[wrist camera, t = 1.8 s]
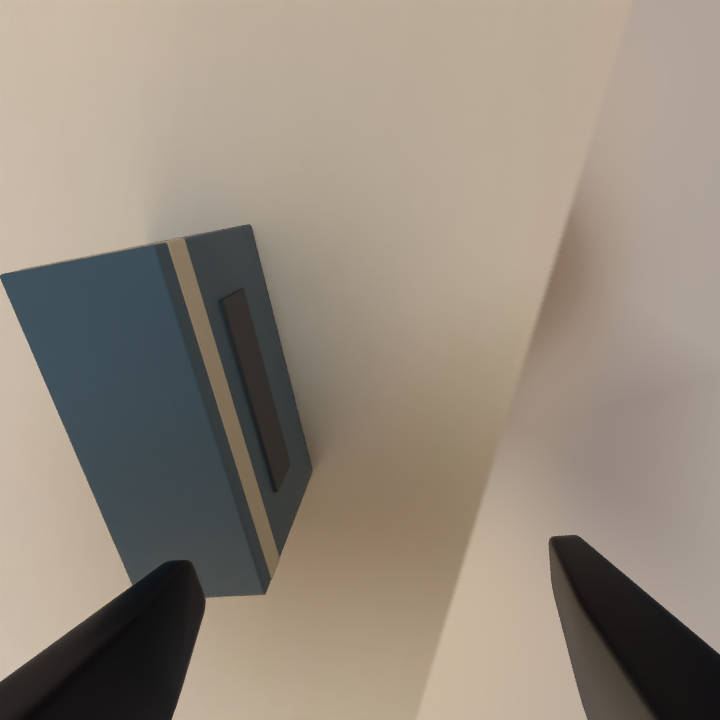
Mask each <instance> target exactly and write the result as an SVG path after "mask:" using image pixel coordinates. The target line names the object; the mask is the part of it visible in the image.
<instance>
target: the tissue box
mask: <svg viewBox="0 0 720 720" xmlns="http://www.w3.org/2000/svg"><path fill="white" fill-rule="evenodd" d="M0 279H1V281H2V283H3V286H4V288H5V290H6V292H7V295H8V297H9V299H10V302H11V304H12V306H13V309H14V311H15V313H16V316H17V318H18V320H19V323H20V325H21V327H22V330H23V332H24V334H25V337H26V339H27V341H28V344H29V346H30V348H31V351H32V353H33V355H34V358H35V360H36V362H37V365H38V367H39V369H40V372H41V374H42V376H43V379H44V381H45V383H46V385H47V388H48V390H49V392H50V395H51V397H52V399H53V402H54V404H55V406H56V409H57V411H58V413H59V416H60V418H61V420H62V423H63V425H64V427H65V430H66V432H67V434H68V437H69V439H70V441H71V444H72V446H73V448H74V451H75V453H76V455H77V458H78V460H79V462H80V465H81V467H82V469H83V472H84V474H85V476H86V479H87V481H88V483H89V485H90V488H91V490H92V492H93V495H94V497H95V499H96V502H97V504H98V506H99V509H100V511H101V513H102V516H103V518H104V520H105V523H106V525H107V527H108V530H109V532H110V534H111V537H112V539H113V541H114V544H115V546H116V548H117V551H118V553H119V555H120V558H121V560H122V562H123V565H124V567H125V569H126V572H127V574H128V576H129V578H130V581H131V583H132V585H134V584H135V583H137V582H138V581H140V580H141V579H142V578H144V577H145V576H146V575H148V574H149V573H150V572H152V571H153V570H155V569H156V568H157V567H159V566H160V565H161V564H163V563H164V562H167V561H171V560H189V561H191V562H192V563H193V565H194V567H195V570H196V573H197V575H198V578H199V581H200V584H201V586H202V589H203V592H204V595H205V598H211V597H232V596H252V595H265V594H266V592H267V589H268V586H269V584H270V581H271V580H272V578H273V576H274V573H275V570H276V568H277V565H278V563H279V560H280V555H281V553H282V550H283V547H284V545H285V542H286V540H287V537H288V534H289V532H290V529H291V527H292V524H293V521H294V519H295V516H296V514H297V511H298V508H299V506H300V503H301V501H302V498H303V495H304V493H305V490H306V487H307V485H308V482H309V480H310V477H311V474H312V472H313V471H312V467H311V463H310V459H309V455H308V451H307V447H306V443H305V439H304V435H303V431H302V427H301V423H300V419H299V415H298V411H297V407H296V403H295V399H294V395H293V391H292V387H291V383H290V379H289V375H288V371H287V367H286V364H285V360H284V356H283V352H282V348H281V344H280V340H279V336H278V332H277V328H276V324H275V320H274V316H273V312H272V308H271V304H270V300H269V296H268V292H267V288H266V284H265V280H264V276H263V272H262V268H261V264H260V260H259V256H258V252H257V248H256V244H255V240H254V236H253V232H252V228H251V225H249V224H248V225H243V226H238V227H232V228H227V229H222V230H217V231H212V232H207V233H202V234H197V235H192V236H187V237H182V238H177V239H171V240H166V241H161V242H156V243H151V244H146V245H141V246H136V247H131V248H127V249H122V250H117V251H112V252H106V253H101V254H96V255H91V256H86V257H81V258H76V259H71V260H66V261H61V262H56V263H51V264H45V265H40V266H36V267H31V268H26V269H21V270H19V271H15V272H10V273H5V274H2V275H0Z"/></svg>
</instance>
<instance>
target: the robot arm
mask: <svg viewBox="0 0 720 720" xmlns="http://www.w3.org/2000/svg"><path fill="white" fill-rule="evenodd" d="M549 556H550V570H551V582H552V588H553V593H554V598H555V601H556V605H557V609H558V613H559V617H560V621H561V624H562V629H563V633H564V636H565V640H566V644H567V648H568V652H569V656H570V660H571V664H572V668H573V671H574V675H575V679H576V683H577V687H578V690H579V694H580V697H581V701H582V704H583V707H584V710H585V713H586V716H587V719H588V720H720V654H719V653H717V652H716V651H715V650H714V649H713V648H711V647H710V646H709V645H708V644H707V643H706V642H704V641H703V640H702V639H701V638H699V637H698V636H697V635H696V634H695V633H694V632H692V631H691V630H690V629H689V628H688V627H686V626H685V625H684V624H683V623H682V622H680V621H679V620H678V619H677V618H676V617H674V616H673V615H672V614H671V613H670V612H669V611H667V610H666V609H665V608H664V607H662V605H660V604H659V603H658V602H657V601H655V600H654V599H653V598H652V597H651V596H649V595H648V594H647V593H646V592H645V591H643V590H642V589H641V588H640V587H639V586H638V585H637V584H635V583H634V582H633V581H632V580H630V579H629V578H628V577H627V576H626V575H625V574H623V573H622V572H621V571H620V570H618V568H616V567H615V566H614V565H613V564H612V563H610V562H609V561H608V560H607V559H606V558H604V557H603V556H602V555H601V554H600V553H598V552H597V551H596V550H595V549H594V548H593V547H591V546H590V545H589V544H588V543H587V542H585V541H584V540H583V539H582V538H581V537H579V536H577V535H568V536H567V535H566V536H554V537H551V538H550V540H549ZM205 603H206V601H205V595H204V592H203V589H202V586H201V584H200V581H199V578H198V575H197V573H196V570H195V567H194V565H193V563H192V562H191V561H189V560H171V561H167V562H164V563H163V564H161V565H160V566H159V567H157V568H156V569H155V570H153V571H152V572H150V573H149V574H148V575H146V576H145V577H144V578H142V579H141V580H140V581H138V582H137V583H135V584H134V585H133V586H131V587H130V588H129V589H127V590H126V591H124V592H123V593H122V594H120V595H119V596H118V597H116V598H115V599H113V600H112V601H111V602H109V603H108V604H107V605H105V606H104V607H102V608H101V609H100V610H98V611H97V612H96V613H94V614H93V615H91V616H90V617H89V618H87V619H86V620H85V621H83V622H82V623H80V624H79V625H78V626H76V627H75V628H74V629H72V630H71V631H69V632H68V633H67V634H65V635H64V636H63V637H61V638H60V639H59V640H57V641H56V642H54V643H53V644H52V645H50V646H49V647H48V648H46V649H45V650H43V651H42V652H41V653H39V654H38V655H37V656H35V657H34V658H32V659H31V660H30V661H28V662H27V663H26V664H24V665H23V666H21V667H20V668H19V669H17V670H16V671H15V672H13V673H12V674H10V675H9V676H8V677H6V678H5V679H4V680H2V681H1V682H0V720H171V719H172V717H173V714H174V711H175V708H176V706H177V702H178V699H179V696H180V693H181V690H182V687H183V683H184V680H185V676H186V673H187V670H188V666H189V663H190V659H191V656H192V653H193V649H194V646H195V642H196V639H197V635H198V632H199V629H200V625H201V622H202V618H203V615H204V611H205Z"/></svg>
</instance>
